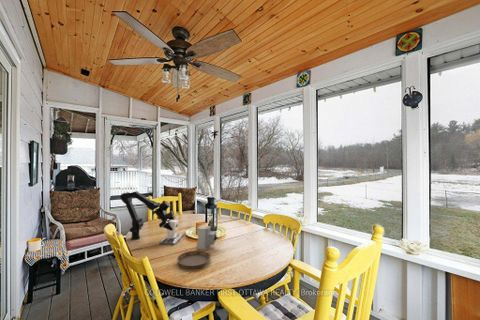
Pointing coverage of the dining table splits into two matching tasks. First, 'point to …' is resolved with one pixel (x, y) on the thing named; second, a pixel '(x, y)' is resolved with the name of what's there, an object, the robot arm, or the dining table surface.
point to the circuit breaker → (205, 237)
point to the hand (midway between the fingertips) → (174, 228)
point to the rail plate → (172, 240)
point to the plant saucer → (193, 259)
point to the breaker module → (175, 229)
